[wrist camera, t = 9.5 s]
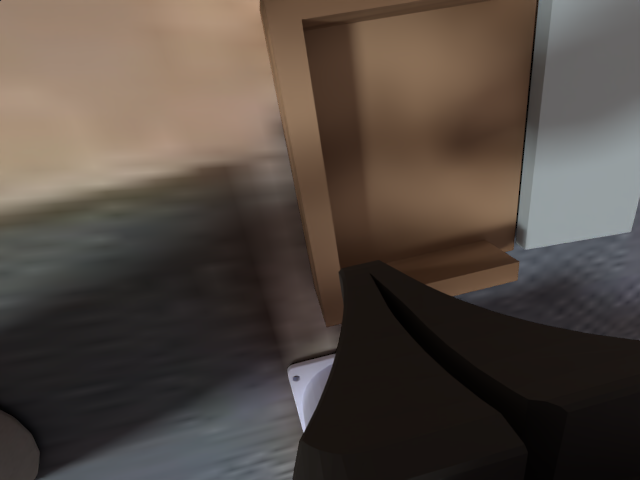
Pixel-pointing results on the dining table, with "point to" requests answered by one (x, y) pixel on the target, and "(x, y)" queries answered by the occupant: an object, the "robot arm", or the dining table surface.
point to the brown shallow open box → (404, 134)
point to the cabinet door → (582, 123)
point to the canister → (17, 450)
